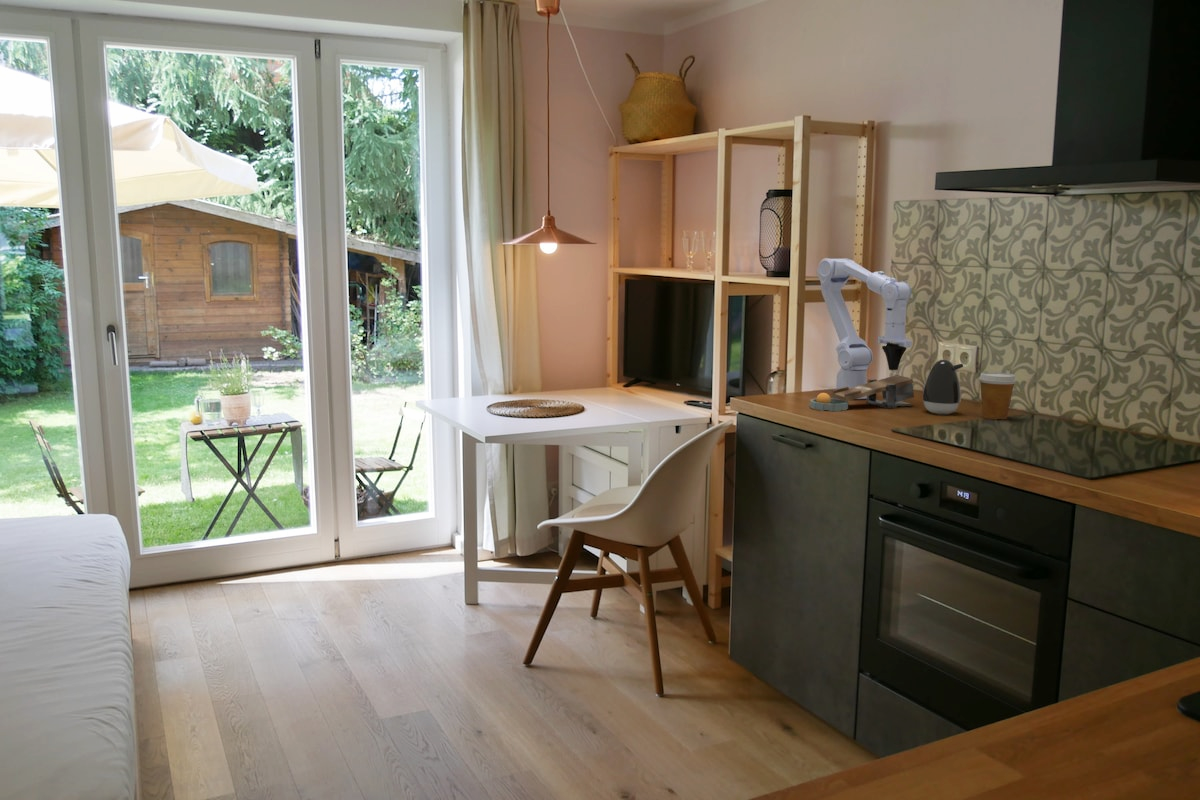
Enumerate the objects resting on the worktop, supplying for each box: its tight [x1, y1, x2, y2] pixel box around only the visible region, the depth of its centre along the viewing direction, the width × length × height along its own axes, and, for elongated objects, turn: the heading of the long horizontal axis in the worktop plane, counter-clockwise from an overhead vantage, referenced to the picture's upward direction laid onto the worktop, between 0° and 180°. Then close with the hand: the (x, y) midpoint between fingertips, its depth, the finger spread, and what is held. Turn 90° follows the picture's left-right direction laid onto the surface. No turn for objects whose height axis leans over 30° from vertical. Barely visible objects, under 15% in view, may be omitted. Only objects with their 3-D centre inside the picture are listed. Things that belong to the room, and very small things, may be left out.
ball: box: [815, 392, 832, 404], centre depth 282 cm, size 4×4×4 cm
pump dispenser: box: [922, 359, 964, 415], centre depth 275 cm, size 10×10×15 cm
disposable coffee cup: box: [978, 371, 1017, 420], centre depth 269 cm, size 10×10×12 cm
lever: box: [831, 374, 915, 402], centre depth 286 cm, size 22×8×6 cm, turn 106°
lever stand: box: [866, 378, 912, 410], centre depth 288 cm, size 9×11×7 cm
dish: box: [809, 397, 849, 412], centre depth 283 cm, size 11×11×2 cm
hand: (893, 369), depth 288 cm, fingers closed
